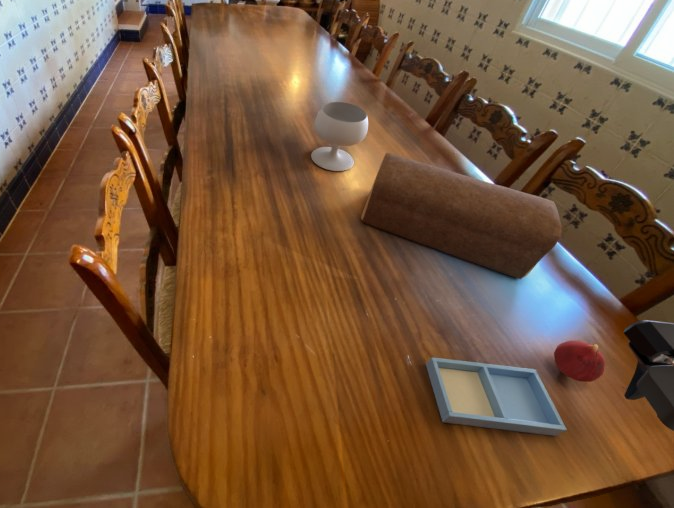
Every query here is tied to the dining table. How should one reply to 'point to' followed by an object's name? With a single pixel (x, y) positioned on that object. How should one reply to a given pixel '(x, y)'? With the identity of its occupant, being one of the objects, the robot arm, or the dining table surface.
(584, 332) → the dining table surface
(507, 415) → the divided blue tray
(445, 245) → the bread
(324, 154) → the chalice
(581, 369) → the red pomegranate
